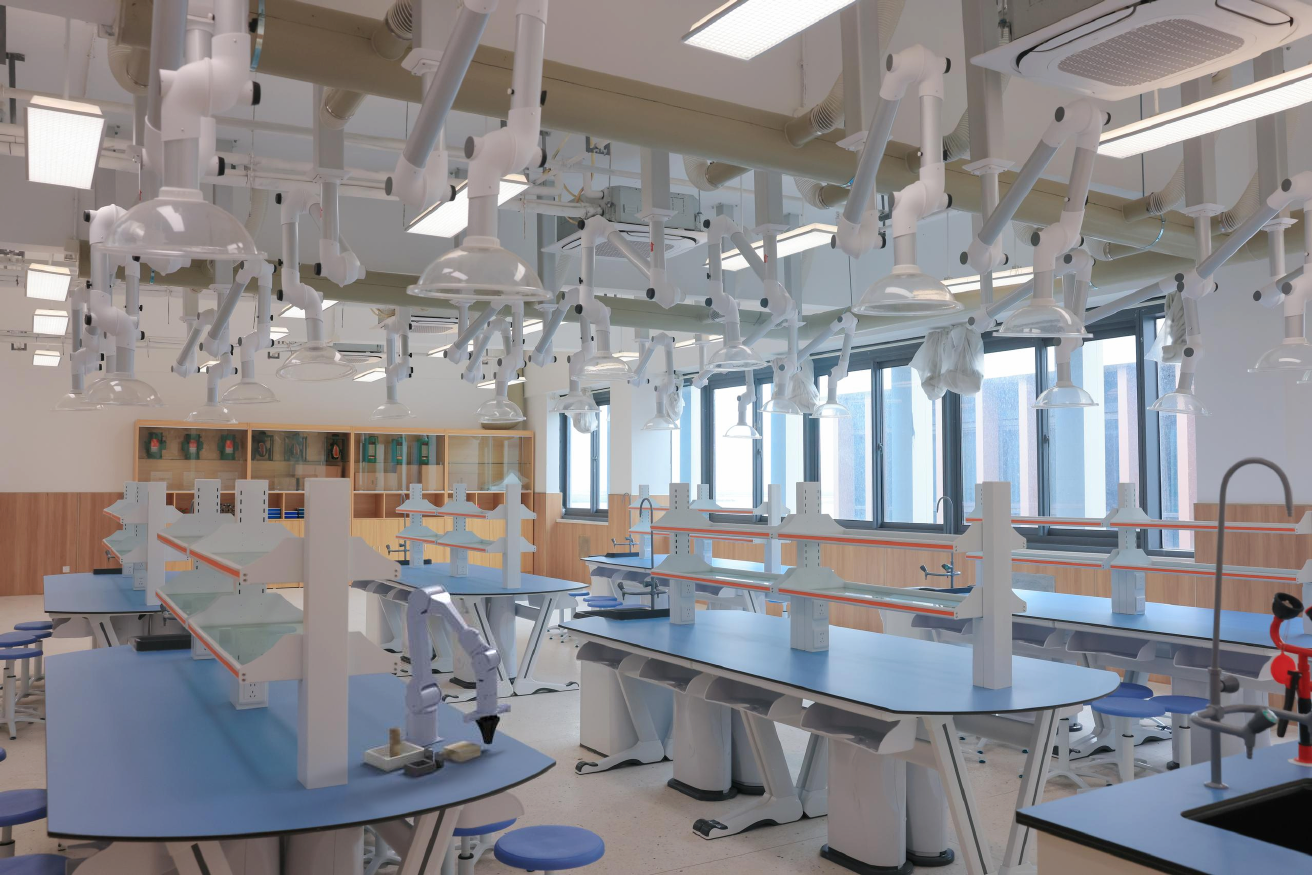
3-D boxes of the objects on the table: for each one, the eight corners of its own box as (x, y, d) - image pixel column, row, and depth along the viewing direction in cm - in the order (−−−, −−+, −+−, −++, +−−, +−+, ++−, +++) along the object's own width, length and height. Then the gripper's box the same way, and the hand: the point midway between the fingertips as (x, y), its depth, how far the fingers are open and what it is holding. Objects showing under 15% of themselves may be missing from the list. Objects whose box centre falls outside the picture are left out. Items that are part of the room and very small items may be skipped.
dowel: (388, 761, 250) (387, 730, 250) (391, 757, 253) (390, 727, 253) (400, 760, 250) (399, 730, 250) (402, 757, 253) (402, 726, 253)
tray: (364, 762, 252) (364, 750, 252) (403, 751, 260) (403, 740, 260) (387, 771, 244) (387, 759, 244) (426, 760, 252) (426, 749, 252)
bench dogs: (422, 762, 250) (422, 749, 250) (430, 760, 252) (429, 746, 252) (437, 768, 245) (437, 754, 245) (445, 765, 247) (445, 752, 247)
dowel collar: (404, 771, 243) (404, 763, 243) (424, 765, 248) (423, 758, 248) (416, 776, 239) (416, 768, 239) (436, 770, 243) (436, 762, 243)
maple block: (443, 758, 254) (443, 747, 254) (463, 751, 260) (463, 740, 260) (460, 763, 250) (460, 751, 250) (480, 756, 255) (480, 745, 255)
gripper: (473, 701, 253) (474, 752, 253) (516, 690, 264) (518, 739, 263) (458, 697, 258) (459, 747, 258) (501, 686, 268) (502, 734, 268)
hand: (487, 743), depth 261 cm, fingers closed
